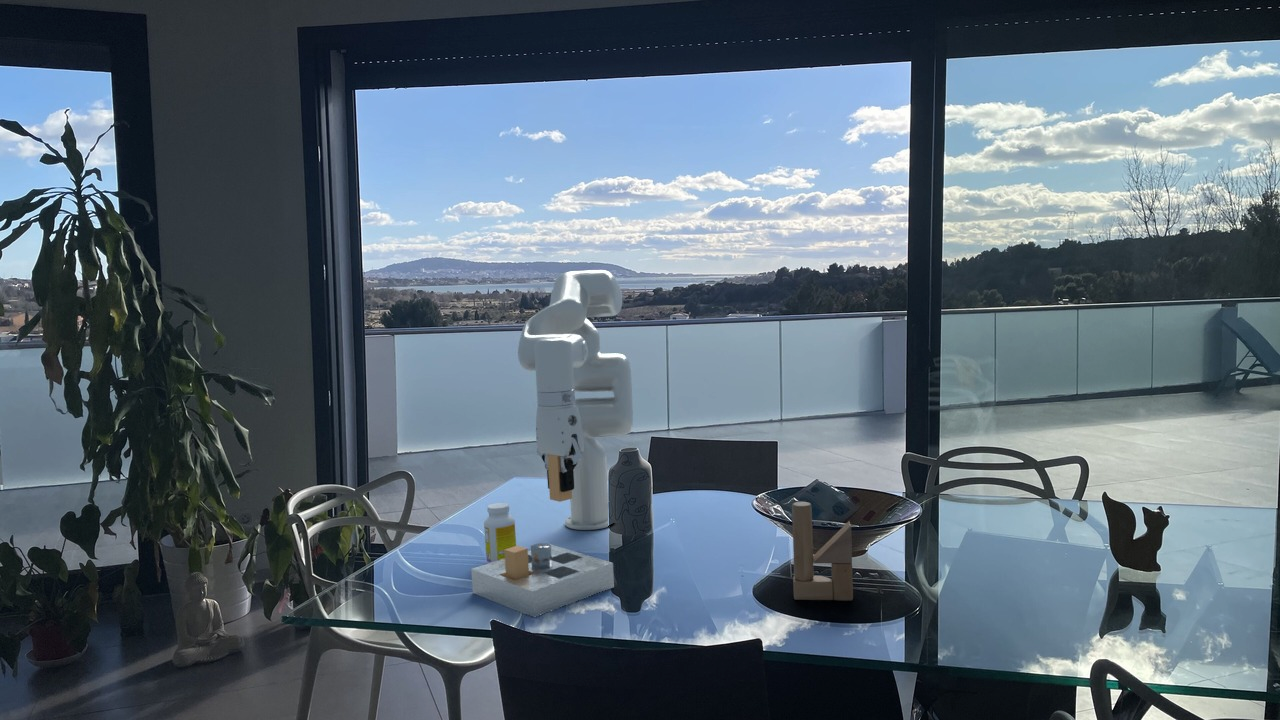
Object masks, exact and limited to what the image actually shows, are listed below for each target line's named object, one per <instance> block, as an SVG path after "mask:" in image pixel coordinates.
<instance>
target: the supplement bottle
mask: <svg viewBox="0 0 1280 720" xmlns="http://www.w3.org/2000/svg"><path fill="white" fill-rule="evenodd" d="M509 511H510V504H509V503H507V502H505V503H504V502H497V503H496V502H495V503H492V504H491V503H490V504H488V505H487V513H488V516H487V517H486V518H485V519H484V522H483V527H484V528H483V529H484V543H485V552H486V553H485V555H486V558H485V559H486V564H488V563H491V562H495V561H498V560H501V559H504V558H505V552H504V550H505V549H508V548H511V547H514V546H517V537H516V535H517V534H516V525H515V523H516V522H515V517H513V515H511V514H509Z"/></svg>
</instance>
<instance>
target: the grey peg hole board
mask: <svg viewBox="0 0 1280 720" xmlns="http://www.w3.org/2000/svg"><path fill="white" fill-rule="evenodd" d="M528 563H529V576H527V577H524V578H521V579H518V580H515V581H514V580H512V579H509V578H506V568H505V558H504V559H501V560H498V561H495V562H491V563H485V564H482V565H479V566H476V567H472V568H471V569H470V571H471V572H470V573H471V575H470V576H471V587H472V594H474V595H477V596H479V597H481V598H483V599H486V600H489V601H492V602H493V603H496V604H499V605H501V606H504V607H506V608H509V609H511V610H514V611H515V612H519V611H521V612H523V613H522V614H524V615H526V614H527V616H529V615H530V616H529V617H531V616H533V617H532V618H534V617H535V616H537V617H539V616H538V615H540V614H543V613H545V614H547V613H546V612H548V613H550V612H549V611H551V610H553V611H555V610H554V609H556V610H558V609H560V608H559V607H561V608H563V607H562V606H564V605H566V606H568V605H567V604H569V605H571V604H570V603H572V602H574V603H576V602H575V601H577V602H579V601H582V600H584V599H583V598H585V599H587V598H589V597H588V596H590V597H592V596H591V595H593V594H595V595H597V594H596V593H598V594H600V593H603V592H605V590H606V591H609V590H611V589H613V588H615V576H614V575H615V574H614V562H611V561H608V560H605V559H600V558H599V557H594V556H590V555H588V554H584V553H581V552H577V551H575V550H572V549H571V550H570V549H567V548H564V547H561V546H557V545H554V544H551V543H547V542H542V543H535V544H532V545H530V550H528ZM602 591H603V592H602ZM599 592H600V593H599ZM593 596H594V595H593ZM586 597H587V598H586ZM581 599H582V600H581ZM578 600H579V601H578ZM572 604H573V603H572ZM564 607H565V606H564ZM557 608H558V609H557ZM521 612H520V613H521ZM551 612H552V611H551ZM543 615H544V614H543ZM540 616H541V615H540ZM535 618H536V617H535Z"/></svg>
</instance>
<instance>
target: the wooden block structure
mask: <svg viewBox="0 0 1280 720" xmlns="http://www.w3.org/2000/svg"><path fill="white" fill-rule="evenodd" d="M791 509H792V510H791V513H792V515H791V517H792V519H791V520H792V547H793V574H794V575H793V576H792V581H793V585H792V586H793V599H794V600H795V601H796V600H797V601H847V602H848V601H849V602H851V601H853V599H854V587H853V585H854V583H853V582H854V580H853V579H854V578H853V577H854V576H853V555H852V554H853V547H852V543H853V542H852V525H851V522H850V520H848V522H845V524H844V525H843V526H841V528H840V529H839V530H838V531H837V532H836V533H835V534H834V535H833V536H832V537H831V538H830V539H829V540H828V541H826V543H825V544H824V545H823V546H822V547H821V548H820V549H818V550H817V551H816V553H815V554H814V544H813V543H814V542H813V541H814V539H813V510H812V509H813V506H812V504H811V503H810V502H807V501H795V502H793V503H792V505H791ZM814 564H831V578H829V577H826V576H823V575H815V573H814Z"/></svg>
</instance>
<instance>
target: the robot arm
mask: <svg viewBox="0 0 1280 720" xmlns="http://www.w3.org/2000/svg"><path fill="white" fill-rule="evenodd" d="M548 305H549V306H546V307H545V308H543V309H542V310H540V311H538V312H537V313H536V314H534V315H532V316H531V317H530V318H529V319H528V320H527V321H526V322H525V324H524V325H523V327H522V330H521V334H520V338H519V341H518V347H517V358H518V362H519V364H520V365H521V367H522V368H523V369H524V370H526V371H529V372H535V380H536V383H535V384H536V400H537V402H536V403H537V407H536V418H535V423H536V424H535V438H536V440H535V441H536V448H537V449H536V453H537V455H538V456H539V457H540V458H541V460H542V462H543V463H544V469H545V470H547V471H546V477H547V489H549V474H548V456H547V454H549V455H555V456H558V457H560V464H561V471H562V472H559V473H560V490H561V492H566V491H570V490H572V499H569V501H570V503H569V504H570V516H568V517H567V518H565V521H564V522H565V523H564V524H565V527H567V528H569V529H572V530H578V531H594V530H600V529H605V528H608V502H609V488H608V485H609V484H608V483H609V482H608V468H607V467H608V465H607V454H606V451H605V449H604V447H603V445H602V444H601V443H600V442H599V441H598V440H597V439H596V437H598V438H599V437H612V436H613V437H614V436H615V437H616V436H624V435H628V434H630V432H631V431H632V428H633V425H634V409H633V408H634V407H633V405H634V404H633V387H632V386H633V384H632V383H633V382H632V370H631V365H630V362H629V359H628V358H627V356H626V355H624V354H622V353H617V352H616V353H615V352H612V353H611V352H610V353H601V345H600V343H601V341H600V338H601V337H600V333H599V331H598V329H597V328H596V326H595V325H594V324H593V323H592V322H591V321H590V319H588V318H600V317H614V316H617V315H618V314H619V313H620V312H621V310H622V308H623V307H622V306H623V293H622V290H621V286H620V284H619V282H618V280H617V279H616V277H615V275H613V273H611V272H610V271H608V270H606V269H590V270H589V269H588V270H572V271H571V270H570V271H566V272H563V273H561V274H559V275H558V276H557V278H556V279H555V281H554V283H553V288H552V289H551V292H550V301H549V303H548ZM606 392H607V393H609V392H610V393H612V394H613V395H614V396H607V397H606V396H605V397H581V398H576V396H575V395H576V394H575V393H606ZM566 459H569V460H568V461H567V463H566Z"/></svg>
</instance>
